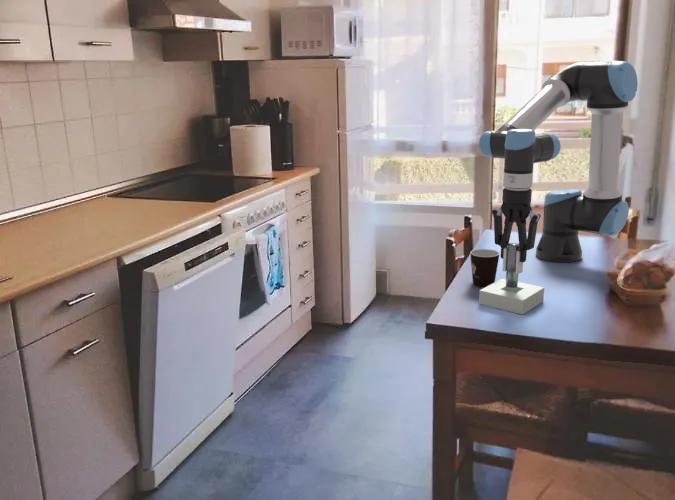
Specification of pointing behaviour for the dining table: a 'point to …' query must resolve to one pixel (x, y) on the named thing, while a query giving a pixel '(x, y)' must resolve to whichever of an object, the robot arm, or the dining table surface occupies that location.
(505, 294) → the hole block
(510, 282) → the peg
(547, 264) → the dining table surface
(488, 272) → the coffee mug
